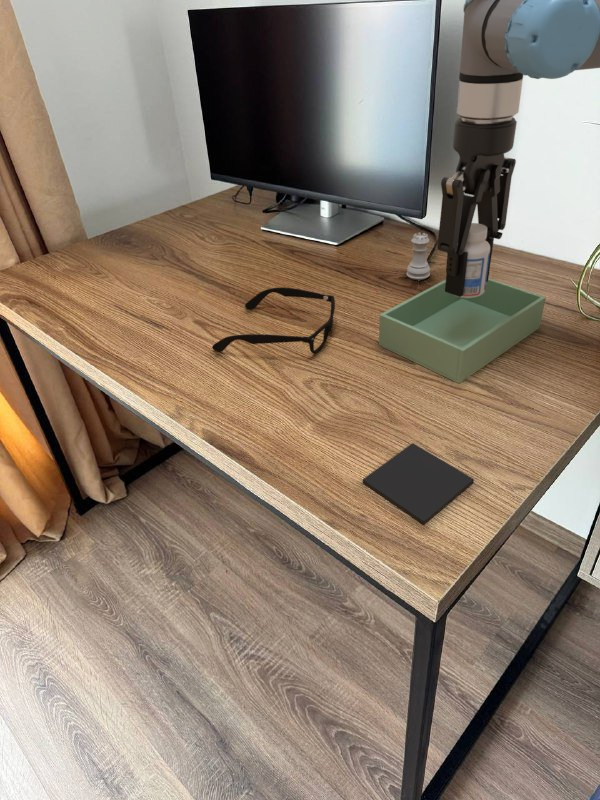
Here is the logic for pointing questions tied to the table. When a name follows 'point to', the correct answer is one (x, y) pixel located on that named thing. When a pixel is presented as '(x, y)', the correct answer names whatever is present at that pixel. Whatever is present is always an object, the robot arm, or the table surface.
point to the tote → (460, 327)
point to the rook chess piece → (419, 258)
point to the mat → (418, 482)
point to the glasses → (280, 338)
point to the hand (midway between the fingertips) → (466, 286)
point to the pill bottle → (476, 261)
